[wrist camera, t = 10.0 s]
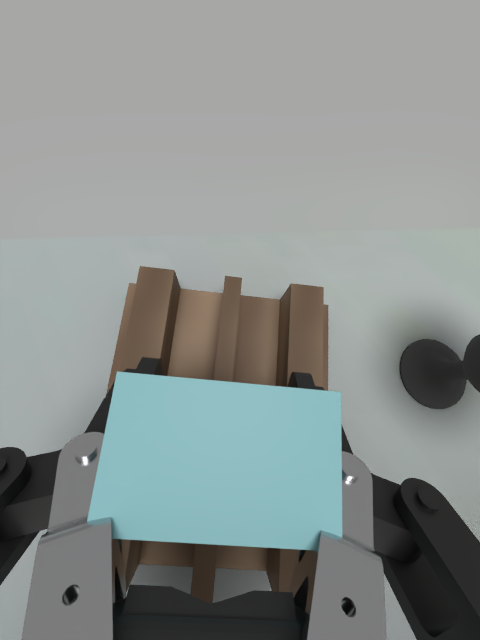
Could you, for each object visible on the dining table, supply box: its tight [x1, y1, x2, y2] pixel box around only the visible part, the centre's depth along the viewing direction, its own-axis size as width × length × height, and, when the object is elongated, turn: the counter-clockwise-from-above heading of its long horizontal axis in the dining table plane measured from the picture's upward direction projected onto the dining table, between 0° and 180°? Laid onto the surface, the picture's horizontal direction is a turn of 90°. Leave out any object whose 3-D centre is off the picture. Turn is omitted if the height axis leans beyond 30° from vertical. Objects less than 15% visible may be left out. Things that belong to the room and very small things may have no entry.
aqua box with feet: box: [87, 372, 342, 550], centre depth 11 cm, size 5×3×11 cm, turn 85°
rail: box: [106, 266, 328, 603], centre depth 16 cm, size 14×16×4 cm
